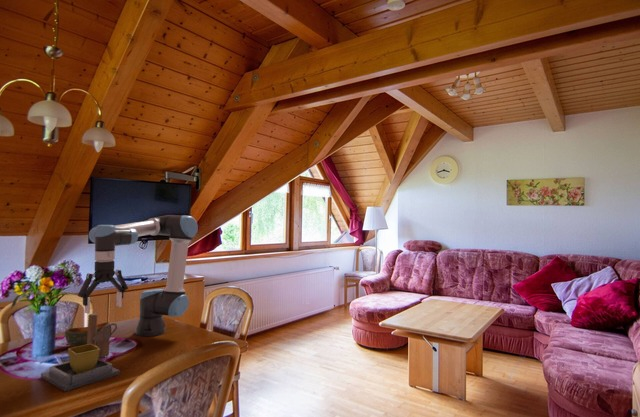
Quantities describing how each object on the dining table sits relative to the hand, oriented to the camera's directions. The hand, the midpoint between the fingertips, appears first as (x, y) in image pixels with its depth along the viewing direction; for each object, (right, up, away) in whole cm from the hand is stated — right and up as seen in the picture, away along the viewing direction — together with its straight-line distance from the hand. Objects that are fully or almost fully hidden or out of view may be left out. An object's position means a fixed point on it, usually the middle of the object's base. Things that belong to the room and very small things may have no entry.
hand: (103, 309), depth 168 cm
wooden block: (-8, -23, +8) cm, 25 cm away
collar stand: (-1, -22, -15) cm, 27 cm away
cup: (-18, -23, +21) cm, 36 cm away
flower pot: (0, -21, -14) cm, 25 cm away
